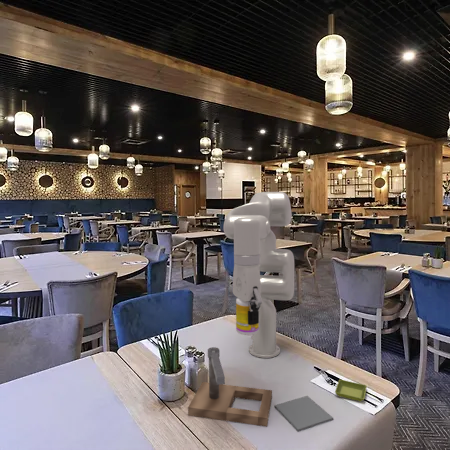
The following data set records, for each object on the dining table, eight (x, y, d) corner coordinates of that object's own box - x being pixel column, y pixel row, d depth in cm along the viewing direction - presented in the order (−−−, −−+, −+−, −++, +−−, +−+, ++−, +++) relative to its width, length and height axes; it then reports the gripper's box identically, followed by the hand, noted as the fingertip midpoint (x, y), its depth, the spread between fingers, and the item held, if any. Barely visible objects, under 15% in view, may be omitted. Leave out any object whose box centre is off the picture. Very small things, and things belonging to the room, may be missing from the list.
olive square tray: (339, 384, 116) (339, 378, 116) (366, 391, 112) (367, 385, 112) (334, 398, 109) (334, 392, 108) (364, 405, 105) (364, 399, 104)
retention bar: (207, 354, 106) (207, 347, 106) (218, 353, 107) (218, 346, 106) (214, 385, 88) (213, 377, 88) (227, 383, 89) (227, 376, 89)
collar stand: (188, 415, 100) (187, 365, 99) (202, 389, 114) (201, 345, 113) (266, 426, 95) (266, 374, 94) (272, 397, 108) (272, 352, 107)
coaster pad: (274, 407, 104) (274, 405, 104) (307, 397, 108) (307, 395, 108) (297, 431, 93) (297, 429, 93) (333, 419, 97) (333, 417, 97)
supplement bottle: (252, 338, 97) (251, 293, 96) (232, 333, 100) (231, 290, 99) (262, 330, 103) (262, 287, 101) (243, 325, 106) (242, 285, 105)
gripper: (223, 256, 106) (224, 312, 108) (248, 266, 90) (249, 332, 92) (245, 254, 109) (245, 309, 111) (273, 264, 93) (273, 328, 95)
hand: (247, 319), depth 101 cm, fingers closed on supplement bottle, 6 cm apart
